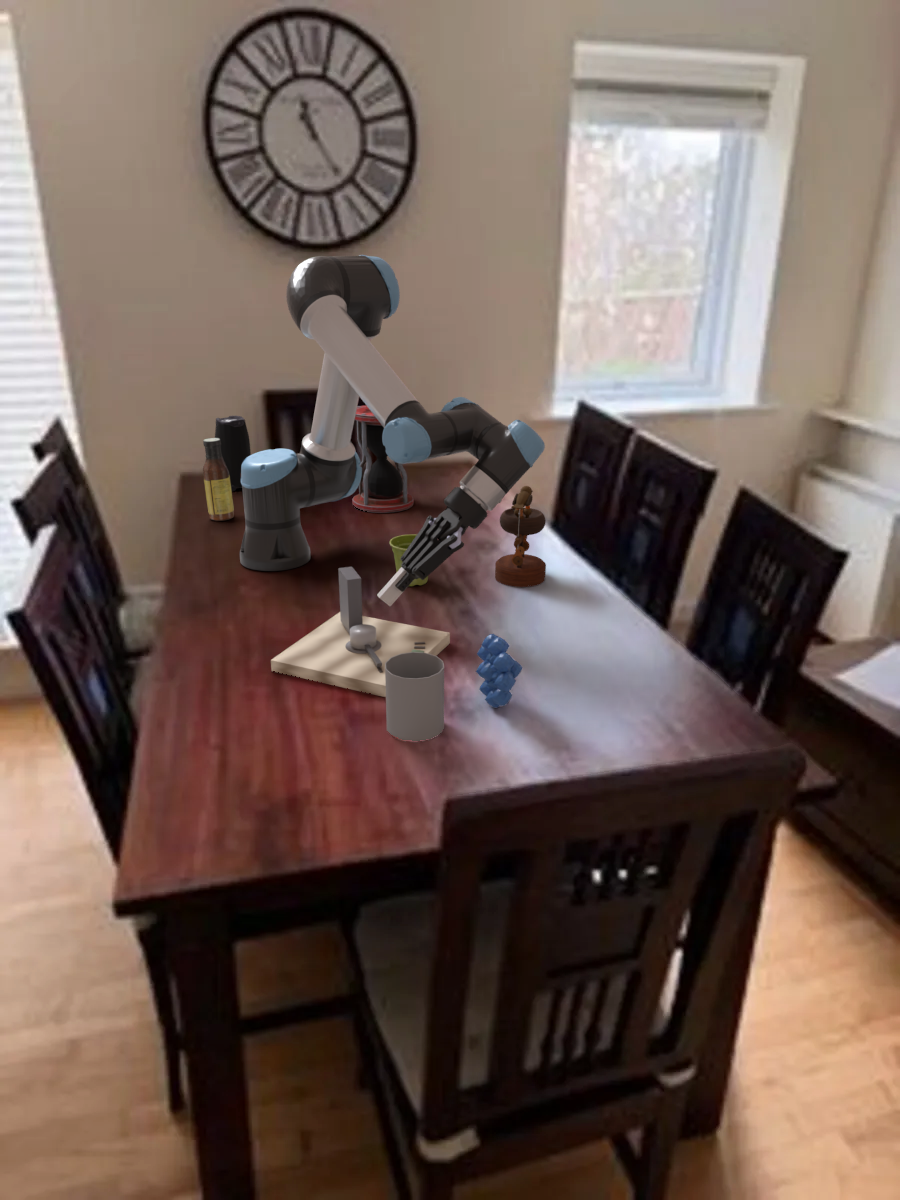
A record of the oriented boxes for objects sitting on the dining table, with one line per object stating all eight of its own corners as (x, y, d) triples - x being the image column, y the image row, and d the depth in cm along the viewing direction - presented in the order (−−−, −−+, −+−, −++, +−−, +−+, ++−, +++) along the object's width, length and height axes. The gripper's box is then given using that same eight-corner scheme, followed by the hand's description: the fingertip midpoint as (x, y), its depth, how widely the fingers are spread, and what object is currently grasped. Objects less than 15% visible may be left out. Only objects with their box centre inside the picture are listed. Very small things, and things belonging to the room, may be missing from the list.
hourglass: (425, 502, 235) (425, 408, 226) (389, 517, 223) (387, 417, 213) (377, 493, 243) (374, 401, 234) (339, 507, 231) (335, 411, 221)
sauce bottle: (239, 516, 223) (232, 437, 215) (225, 522, 217) (218, 443, 210) (216, 513, 225) (209, 435, 217) (202, 520, 219) (194, 440, 212)
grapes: (535, 721, 129) (538, 647, 125) (491, 727, 127) (493, 653, 123) (508, 685, 140) (511, 615, 135) (468, 690, 138) (469, 620, 133)
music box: (551, 590, 177) (547, 494, 170) (496, 594, 178) (490, 498, 170) (544, 563, 191) (540, 474, 184) (493, 567, 192) (488, 478, 184)
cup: (386, 713, 131) (384, 652, 127) (441, 711, 132) (441, 651, 128) (387, 743, 123) (385, 680, 120) (445, 741, 124) (446, 678, 120)
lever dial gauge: (392, 665, 140) (391, 607, 136) (366, 669, 139) (364, 611, 135) (359, 618, 158) (357, 565, 154) (335, 621, 156) (332, 568, 152)
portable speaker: (254, 490, 245) (248, 420, 237) (219, 493, 242) (212, 421, 235) (252, 482, 252) (246, 414, 245) (218, 484, 250) (212, 415, 242)
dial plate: (271, 671, 144) (270, 658, 143) (340, 621, 162) (340, 610, 161) (391, 698, 135) (391, 685, 134) (449, 643, 154) (449, 631, 153)
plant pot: (443, 577, 183) (443, 538, 180) (423, 592, 176) (422, 551, 172) (403, 570, 187) (402, 531, 184) (381, 585, 179) (381, 545, 176)
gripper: (502, 522, 149) (410, 626, 150) (472, 502, 160) (387, 599, 161) (474, 495, 145) (379, 602, 146) (445, 476, 156) (358, 575, 157)
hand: (383, 600), depth 153 cm, fingers closed
